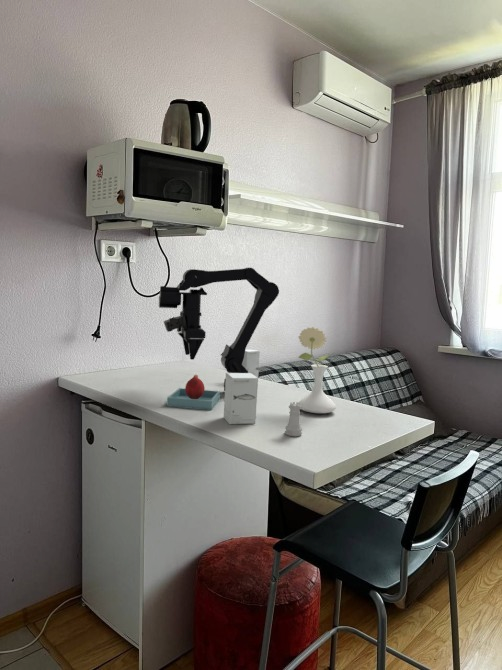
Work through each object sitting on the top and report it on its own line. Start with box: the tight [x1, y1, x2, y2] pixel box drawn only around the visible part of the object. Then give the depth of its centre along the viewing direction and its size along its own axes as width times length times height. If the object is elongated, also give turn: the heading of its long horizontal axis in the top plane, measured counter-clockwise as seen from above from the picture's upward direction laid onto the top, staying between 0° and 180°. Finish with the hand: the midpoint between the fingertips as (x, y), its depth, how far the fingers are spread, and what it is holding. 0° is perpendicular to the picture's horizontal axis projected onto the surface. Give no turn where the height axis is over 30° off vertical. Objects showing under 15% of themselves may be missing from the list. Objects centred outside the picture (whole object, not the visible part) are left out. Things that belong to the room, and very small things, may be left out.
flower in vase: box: [298, 326, 337, 414], centre depth 156 cm, size 13×11×25 cm
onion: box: [184, 374, 206, 399], centre depth 159 cm, size 6×6×8 cm
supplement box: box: [223, 372, 259, 425], centre depth 142 cm, size 7×7×13 cm
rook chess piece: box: [284, 401, 303, 438], centre depth 133 cm, size 4×4×8 cm
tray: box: [166, 387, 221, 411], centre depth 159 cm, size 13×13×3 cm
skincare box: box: [242, 349, 261, 379], centre depth 192 cm, size 6×4×12 cm
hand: (189, 357), depth 170 cm, fingers open, 9 cm apart
